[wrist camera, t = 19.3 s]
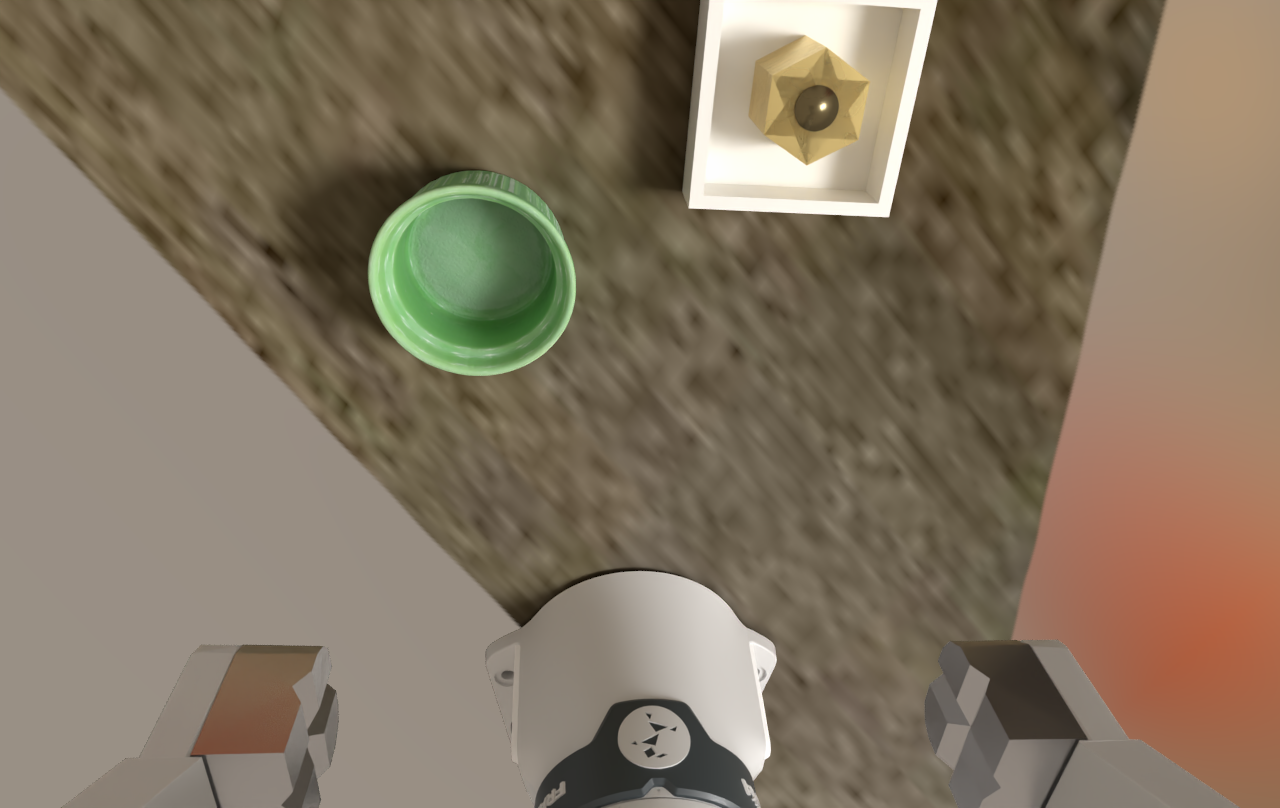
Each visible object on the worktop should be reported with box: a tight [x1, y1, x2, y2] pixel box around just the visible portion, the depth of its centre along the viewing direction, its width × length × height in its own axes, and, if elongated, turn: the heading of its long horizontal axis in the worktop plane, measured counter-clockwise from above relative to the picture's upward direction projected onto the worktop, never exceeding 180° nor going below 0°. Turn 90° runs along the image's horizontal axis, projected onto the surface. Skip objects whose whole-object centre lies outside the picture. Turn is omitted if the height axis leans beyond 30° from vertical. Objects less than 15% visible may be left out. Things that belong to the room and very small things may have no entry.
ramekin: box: [368, 170, 576, 376], centre depth 39 cm, size 9×9×4 cm
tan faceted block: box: [748, 35, 870, 165], centre depth 36 cm, size 5×4×4 cm
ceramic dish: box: [682, 0, 937, 217], centre depth 37 cm, size 9×9×2 cm
